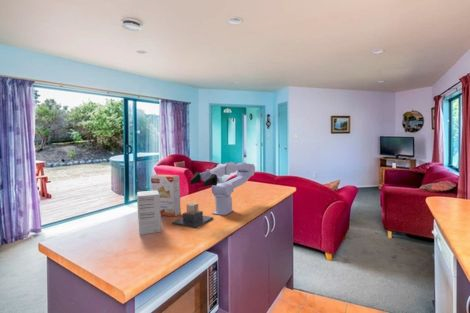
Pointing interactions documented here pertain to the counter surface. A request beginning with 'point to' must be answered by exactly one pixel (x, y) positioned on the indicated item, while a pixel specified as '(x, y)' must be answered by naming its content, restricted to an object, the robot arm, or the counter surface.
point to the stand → (192, 220)
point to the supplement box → (149, 212)
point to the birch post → (192, 208)
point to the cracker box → (167, 193)
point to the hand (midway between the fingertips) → (197, 183)
